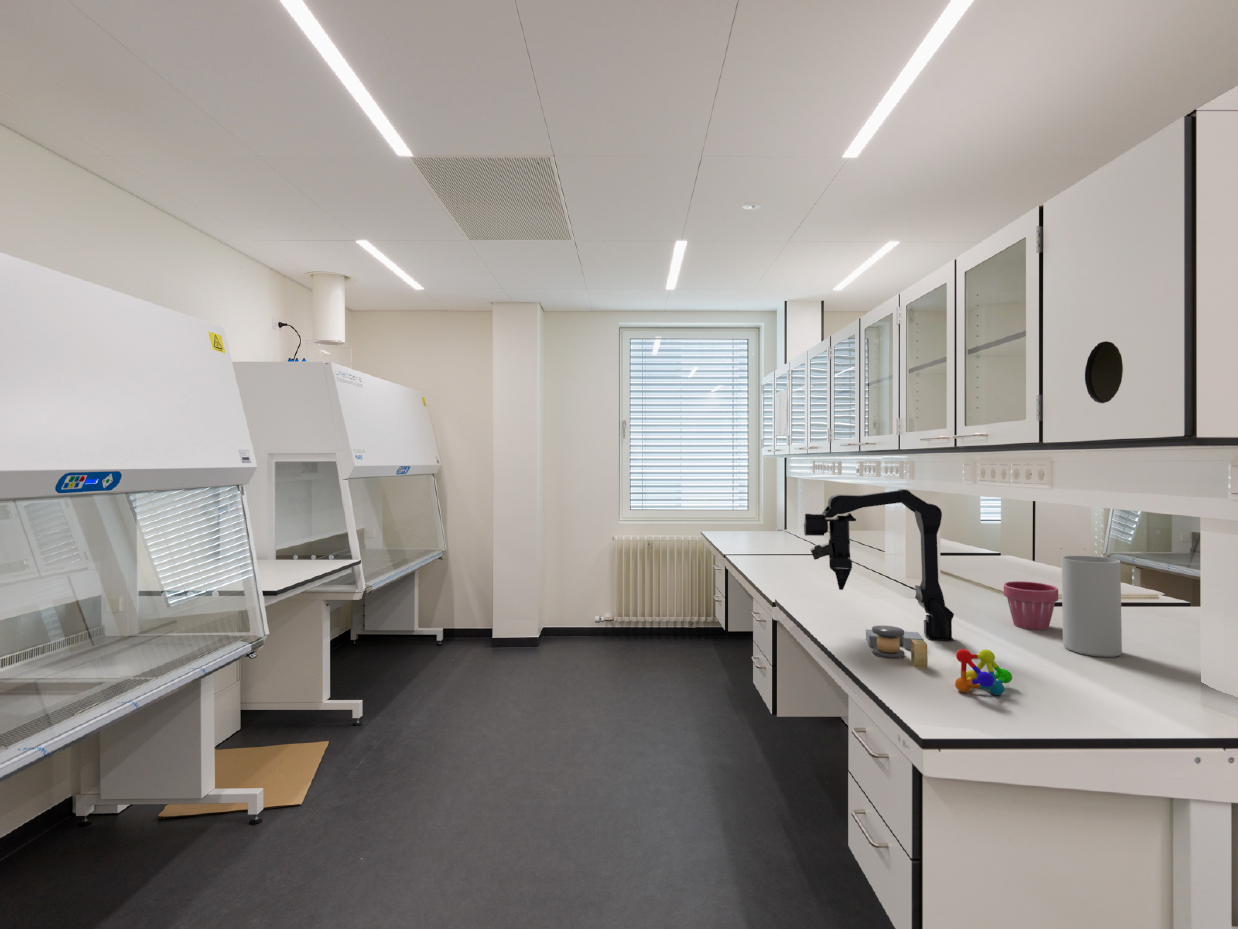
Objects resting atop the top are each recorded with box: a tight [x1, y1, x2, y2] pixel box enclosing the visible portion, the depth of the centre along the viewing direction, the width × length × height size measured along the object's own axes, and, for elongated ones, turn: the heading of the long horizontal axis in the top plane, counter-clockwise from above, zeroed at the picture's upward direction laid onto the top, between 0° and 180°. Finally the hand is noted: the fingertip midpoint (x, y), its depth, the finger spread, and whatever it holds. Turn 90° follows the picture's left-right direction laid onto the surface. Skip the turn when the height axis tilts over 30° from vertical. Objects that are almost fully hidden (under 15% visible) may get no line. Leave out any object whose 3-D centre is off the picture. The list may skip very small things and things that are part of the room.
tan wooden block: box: [910, 639, 929, 669], centre depth 151 cm, size 3×4×6 cm
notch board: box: [865, 628, 925, 650], centre depth 168 cm, size 14×7×3 cm, turn 75°
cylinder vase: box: [1061, 555, 1123, 658], centre depth 160 cm, size 12×12×25 cm
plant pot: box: [1003, 580, 1059, 631], centre depth 185 cm, size 14×14×13 cm
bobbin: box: [871, 625, 906, 660], centre depth 160 cm, size 8×8×7 cm
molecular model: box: [954, 648, 1013, 696], centre depth 134 cm, size 11×10×15 cm
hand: (840, 586), depth 180 cm, fingers open, 9 cm apart
